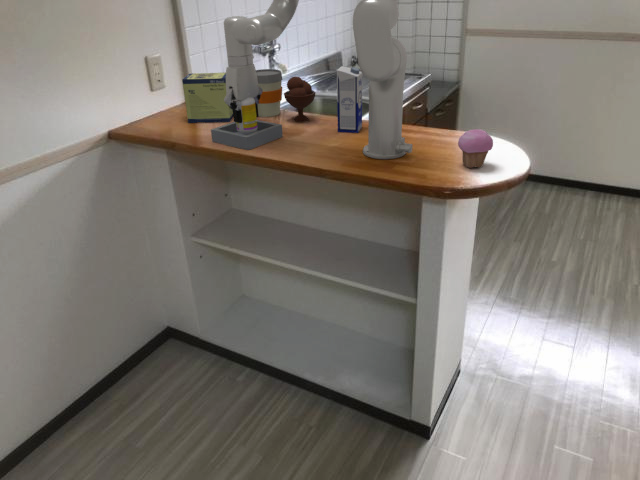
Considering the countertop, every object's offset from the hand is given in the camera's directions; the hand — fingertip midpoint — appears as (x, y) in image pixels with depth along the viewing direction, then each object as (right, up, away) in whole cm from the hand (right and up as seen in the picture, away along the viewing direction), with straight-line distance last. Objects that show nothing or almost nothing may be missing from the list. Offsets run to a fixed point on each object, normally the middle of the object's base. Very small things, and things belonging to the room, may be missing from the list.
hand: (246, 119), depth 171 cm
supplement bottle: (0, -3, +2) cm, 4 cm away
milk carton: (+33, -2, +9) cm, 35 cm away
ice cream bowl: (+17, +5, +22) cm, 28 cm away
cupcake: (+65, -19, -25) cm, 72 cm away
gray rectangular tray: (0, -6, +3) cm, 7 cm away
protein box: (-16, +6, +27) cm, 32 cm away
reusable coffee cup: (+4, +9, +31) cm, 32 cm away
